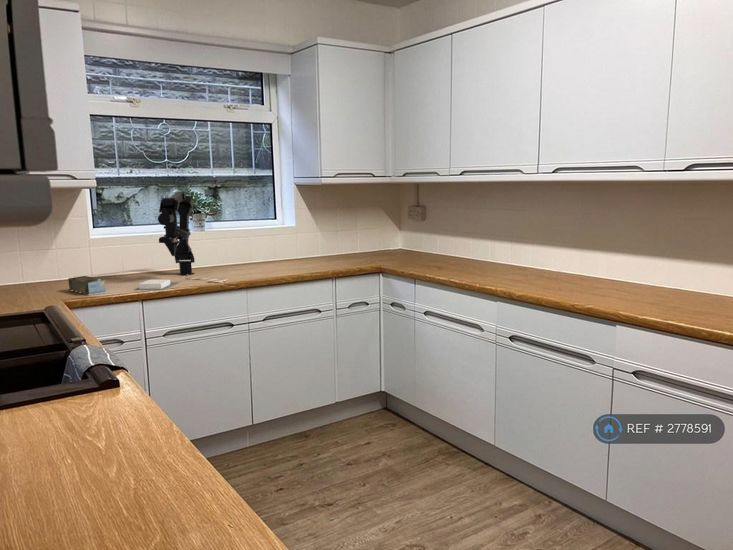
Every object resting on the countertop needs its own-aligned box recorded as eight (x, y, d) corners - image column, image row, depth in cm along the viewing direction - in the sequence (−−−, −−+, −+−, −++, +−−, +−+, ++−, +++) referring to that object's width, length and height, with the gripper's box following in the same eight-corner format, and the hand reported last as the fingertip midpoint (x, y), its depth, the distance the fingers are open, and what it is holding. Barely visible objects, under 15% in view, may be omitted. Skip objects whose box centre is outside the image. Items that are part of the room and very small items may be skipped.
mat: (151, 283, 280) (151, 282, 280) (180, 283, 279) (180, 282, 279) (133, 291, 260) (133, 290, 260) (164, 290, 259) (164, 289, 259)
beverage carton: (88, 296, 251) (87, 281, 250) (68, 291, 263) (67, 277, 262) (106, 293, 257) (105, 278, 256) (86, 289, 269) (85, 274, 268)
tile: (148, 279, 272) (138, 283, 261) (170, 279, 272) (160, 283, 261) (149, 285, 272) (139, 289, 261) (170, 285, 272) (161, 289, 261)
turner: (182, 281, 285) (182, 278, 285) (191, 278, 292) (191, 276, 291) (219, 282, 277) (219, 280, 277) (228, 280, 284) (227, 278, 284)
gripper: (180, 224, 274) (182, 258, 276) (194, 222, 292) (196, 253, 295) (157, 225, 274) (159, 258, 277) (171, 222, 293) (174, 253, 295)
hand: (173, 256), depth 286 cm, fingers closed
